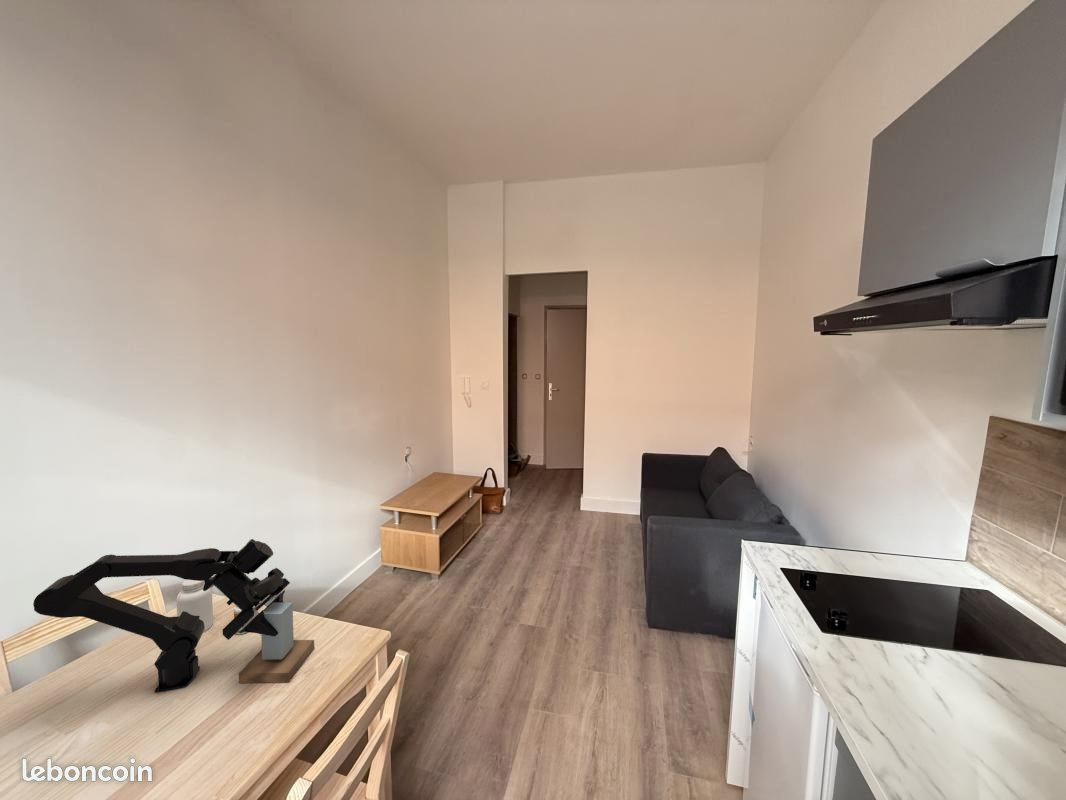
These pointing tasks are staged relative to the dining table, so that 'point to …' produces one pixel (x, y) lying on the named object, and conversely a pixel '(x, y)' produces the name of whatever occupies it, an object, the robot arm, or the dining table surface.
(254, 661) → the walnut board
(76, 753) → the dining table surface
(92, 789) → the dining table surface
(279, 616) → the slate post
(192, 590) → the pill bottle
